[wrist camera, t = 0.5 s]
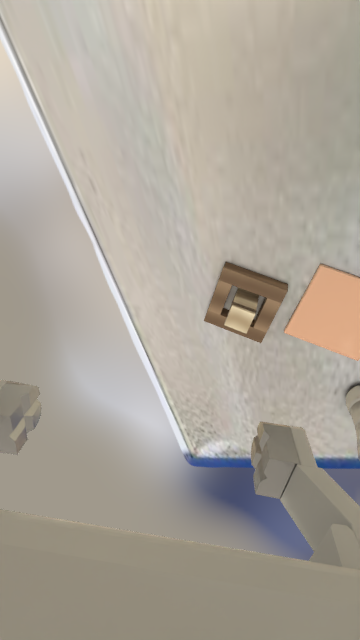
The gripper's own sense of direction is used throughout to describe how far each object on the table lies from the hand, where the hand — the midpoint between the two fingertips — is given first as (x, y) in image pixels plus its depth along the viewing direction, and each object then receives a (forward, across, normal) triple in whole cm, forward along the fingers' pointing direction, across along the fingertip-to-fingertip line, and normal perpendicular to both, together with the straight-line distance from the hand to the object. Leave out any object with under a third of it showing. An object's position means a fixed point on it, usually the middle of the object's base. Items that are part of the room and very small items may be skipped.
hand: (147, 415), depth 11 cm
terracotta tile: (+43, -27, +13) cm, 52 cm away
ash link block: (+46, -11, +14) cm, 50 cm away
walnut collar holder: (+46, -11, +14) cm, 50 cm away
